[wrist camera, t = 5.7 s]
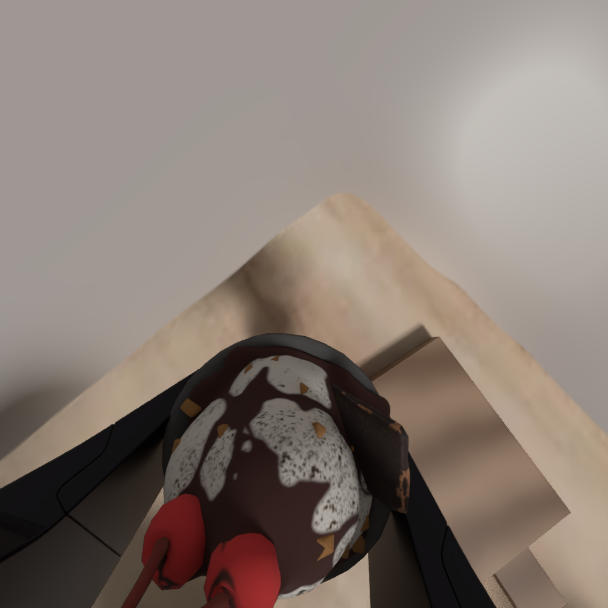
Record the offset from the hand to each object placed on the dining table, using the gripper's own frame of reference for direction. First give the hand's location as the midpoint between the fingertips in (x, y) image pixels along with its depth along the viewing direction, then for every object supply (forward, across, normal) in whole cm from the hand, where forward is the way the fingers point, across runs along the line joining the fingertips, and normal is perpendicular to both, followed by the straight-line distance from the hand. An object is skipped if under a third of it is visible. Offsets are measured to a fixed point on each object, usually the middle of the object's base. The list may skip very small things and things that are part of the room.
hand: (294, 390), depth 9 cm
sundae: (+5, 0, +6) cm, 8 cm away
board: (+6, -14, +13) cm, 20 cm away
